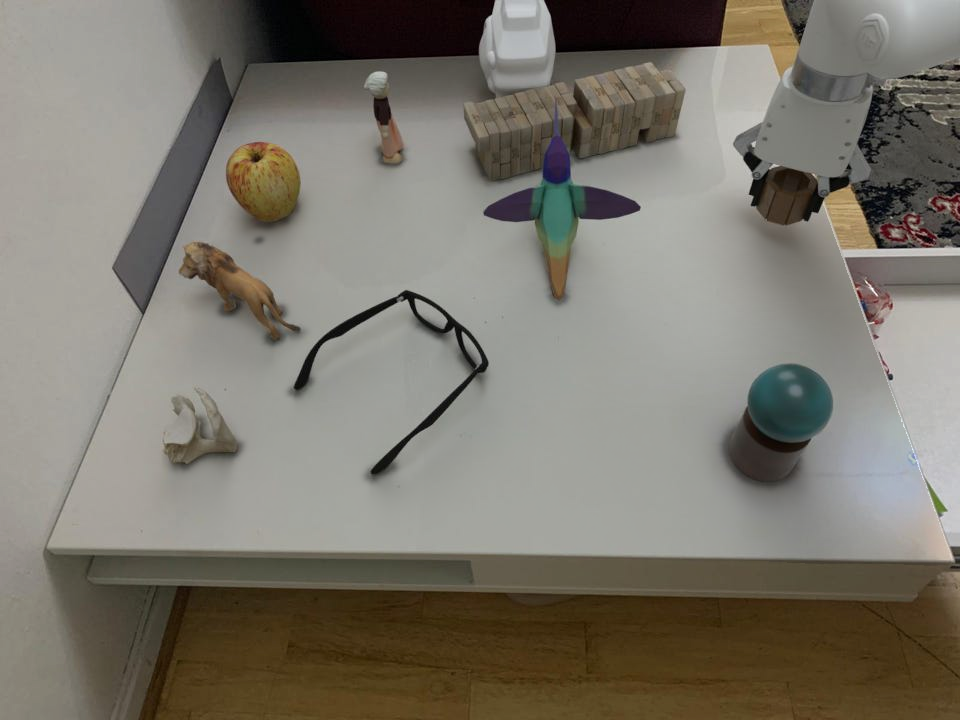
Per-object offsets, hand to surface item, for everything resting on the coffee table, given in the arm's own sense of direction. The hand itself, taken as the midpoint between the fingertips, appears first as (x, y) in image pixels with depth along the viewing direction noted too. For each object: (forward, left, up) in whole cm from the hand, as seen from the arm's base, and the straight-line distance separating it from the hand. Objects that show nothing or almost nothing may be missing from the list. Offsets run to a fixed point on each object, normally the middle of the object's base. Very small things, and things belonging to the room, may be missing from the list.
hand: (782, 205), depth 89 cm
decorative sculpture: (+24, +14, -4) cm, 28 cm away
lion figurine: (+53, +40, -4) cm, 66 cm away
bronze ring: (0, 0, -1) cm, 1 cm away
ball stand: (-7, +32, -4) cm, 33 cm away
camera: (+42, -12, -4) cm, 44 cm away
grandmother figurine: (+53, +7, -4) cm, 53 cm away
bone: (+46, +57, -4) cm, 73 cm away
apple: (+61, +24, -4) cm, 66 cm away
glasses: (+31, +41, -4) cm, 52 cm away
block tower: (+30, -5, -4) cm, 31 cm away
